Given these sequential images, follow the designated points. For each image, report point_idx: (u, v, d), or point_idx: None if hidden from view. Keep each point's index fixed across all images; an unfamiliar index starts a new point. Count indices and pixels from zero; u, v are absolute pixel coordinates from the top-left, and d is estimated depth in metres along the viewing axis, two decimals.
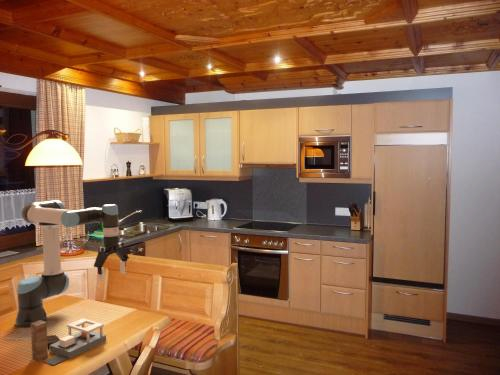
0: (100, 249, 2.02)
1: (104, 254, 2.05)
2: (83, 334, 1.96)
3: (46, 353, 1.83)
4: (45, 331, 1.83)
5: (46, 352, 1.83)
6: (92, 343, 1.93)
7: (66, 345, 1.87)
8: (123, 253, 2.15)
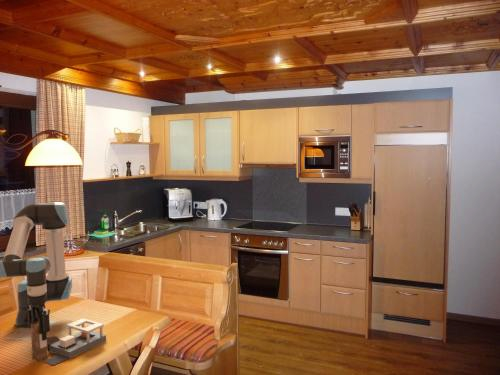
0: None
1: None
2: (83, 334, 1.96)
3: (46, 353, 1.83)
4: None
5: (46, 352, 1.83)
6: (92, 343, 1.93)
7: (66, 345, 1.87)
8: None
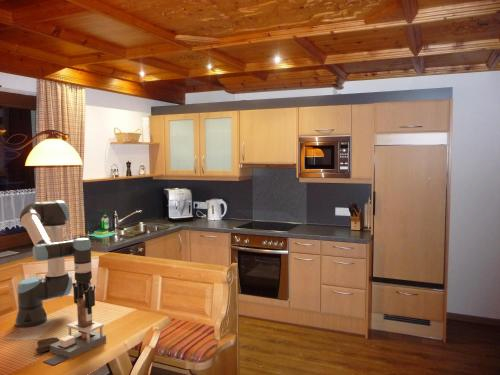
0: None
1: None
2: (83, 337, 1.96)
3: None
4: None
5: None
6: (92, 343, 1.93)
7: (66, 345, 1.87)
8: None
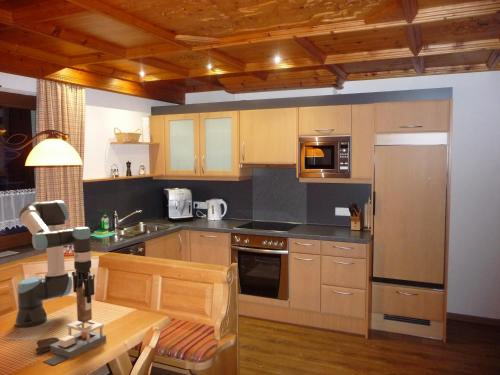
0: None
1: None
2: (83, 338, 1.96)
3: (90, 315, 1.97)
4: None
5: (90, 314, 1.98)
6: (92, 343, 1.93)
7: (66, 345, 1.87)
8: None
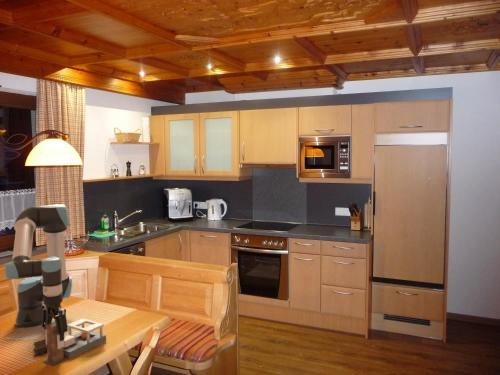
0: None
1: None
2: (83, 338, 1.96)
3: (61, 354, 1.81)
4: None
5: (61, 353, 1.81)
6: (92, 343, 1.93)
7: (66, 345, 1.87)
8: None
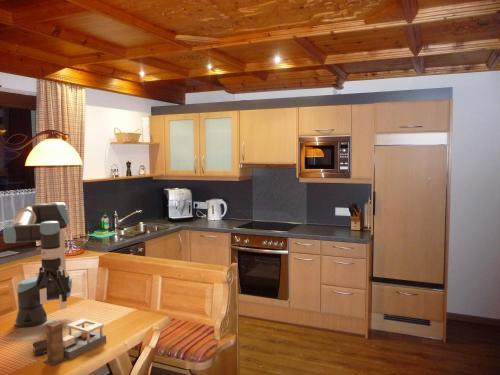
0: None
1: None
2: (83, 338, 1.96)
3: (61, 354, 1.81)
4: (61, 332, 1.80)
5: (61, 353, 1.81)
6: (92, 343, 1.93)
7: (66, 345, 1.87)
8: None
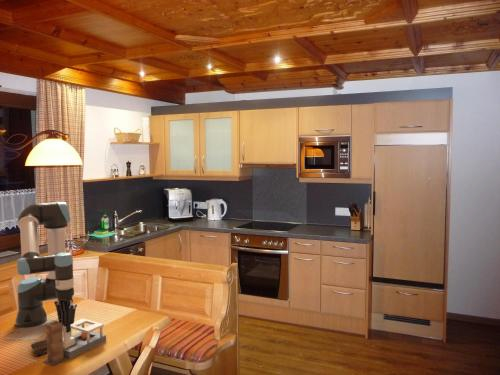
0: None
1: None
2: (83, 338, 1.96)
3: (61, 354, 1.81)
4: (61, 332, 1.80)
5: (61, 353, 1.81)
6: (92, 343, 1.93)
7: (66, 346, 1.87)
8: None
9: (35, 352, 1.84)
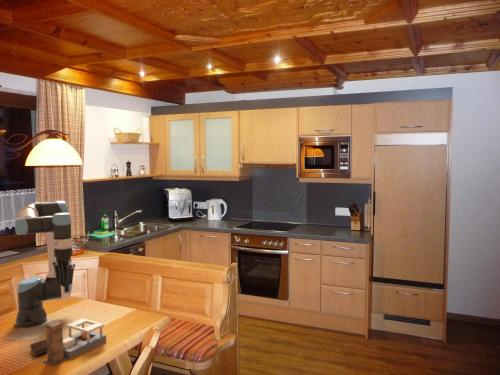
0: None
1: None
2: (83, 338, 1.96)
3: (61, 354, 1.81)
4: (61, 332, 1.80)
5: (61, 353, 1.81)
6: (92, 343, 1.93)
7: (66, 347, 1.87)
8: None
9: (35, 352, 1.84)
